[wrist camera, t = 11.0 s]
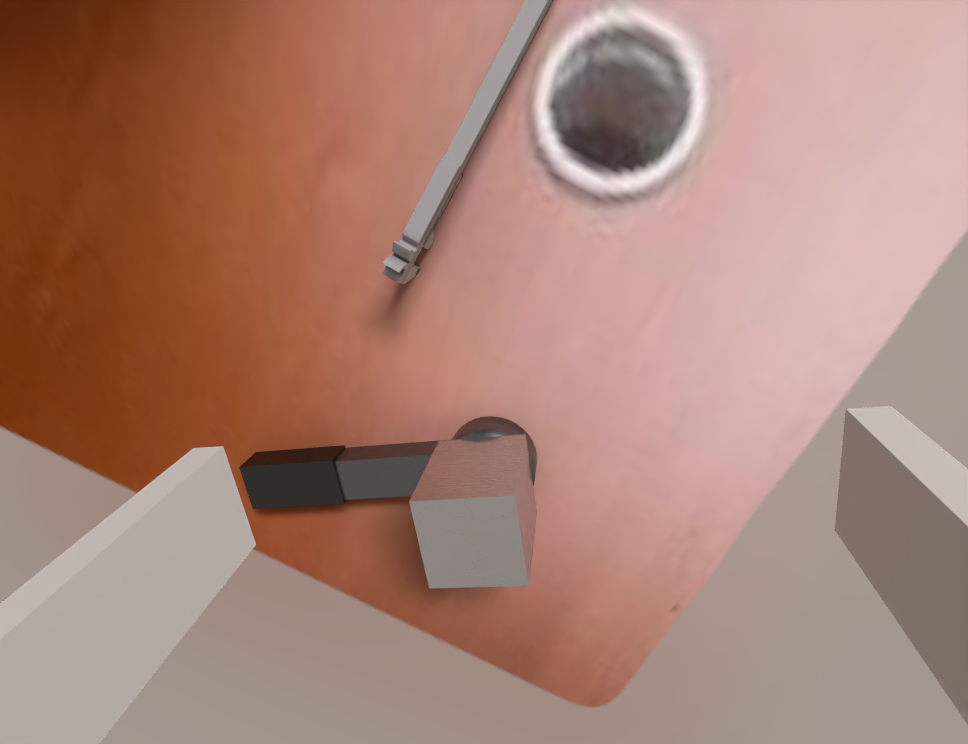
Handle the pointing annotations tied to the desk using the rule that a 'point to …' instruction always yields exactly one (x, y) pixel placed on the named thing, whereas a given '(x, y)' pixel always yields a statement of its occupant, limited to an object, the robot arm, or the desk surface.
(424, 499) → the plain grey cube
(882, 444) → the robot arm
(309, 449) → the ratchet
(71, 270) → the desk surface
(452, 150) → the caliper
